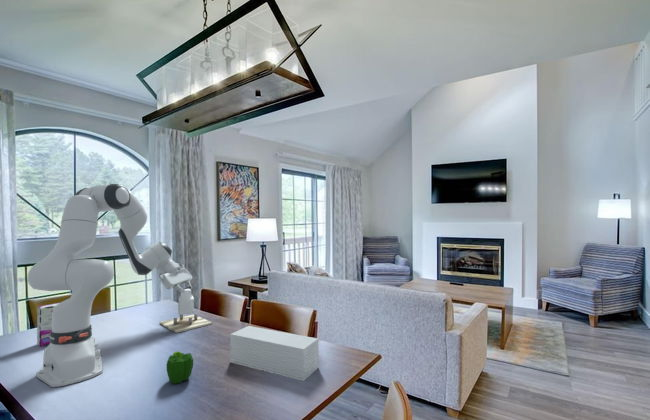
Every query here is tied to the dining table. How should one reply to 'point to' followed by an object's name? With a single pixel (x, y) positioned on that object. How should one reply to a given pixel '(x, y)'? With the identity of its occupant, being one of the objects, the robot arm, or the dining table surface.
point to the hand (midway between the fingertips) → (187, 290)
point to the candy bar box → (44, 324)
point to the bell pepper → (179, 367)
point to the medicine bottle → (186, 302)
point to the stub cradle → (185, 323)
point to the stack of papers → (275, 352)
